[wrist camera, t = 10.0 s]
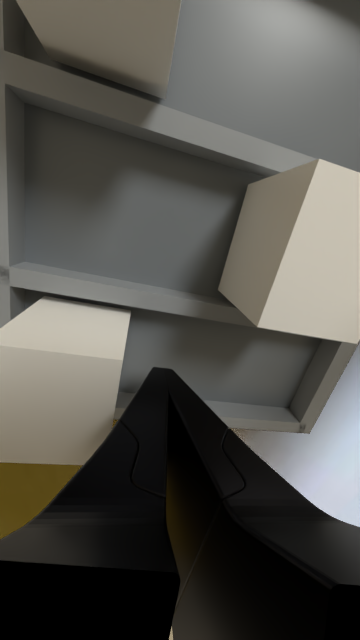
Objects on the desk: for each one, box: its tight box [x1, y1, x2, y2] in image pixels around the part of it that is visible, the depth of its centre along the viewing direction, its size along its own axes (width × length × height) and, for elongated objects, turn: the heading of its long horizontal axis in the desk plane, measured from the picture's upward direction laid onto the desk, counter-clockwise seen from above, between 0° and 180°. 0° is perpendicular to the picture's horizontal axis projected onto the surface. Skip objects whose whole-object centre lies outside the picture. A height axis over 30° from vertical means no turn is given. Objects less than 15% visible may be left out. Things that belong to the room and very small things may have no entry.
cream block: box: [0, 296, 131, 465], centre depth 8 cm, size 3×4×4 cm
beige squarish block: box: [218, 159, 360, 344], centre depth 7 cm, size 3×4×4 cm
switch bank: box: [0, 0, 360, 434], centre depth 8 cm, size 18×16×2 cm
